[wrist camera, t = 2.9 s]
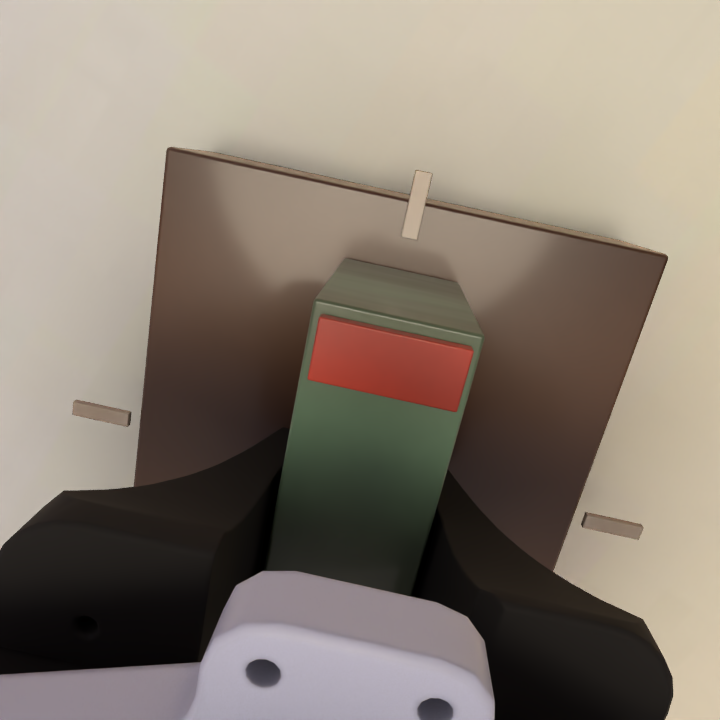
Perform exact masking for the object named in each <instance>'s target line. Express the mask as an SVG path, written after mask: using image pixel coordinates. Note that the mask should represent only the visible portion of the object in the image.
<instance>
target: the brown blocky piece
mask: <svg viewBox="0 0 720 720" xmlns="http://www.w3.org/2000/svg"><path fill="white" fill-rule="evenodd" d="M431 179H432V173H429V172H424V171H419V170H416V171H415V175H414V179H413V184H412V188H411V193H410V195H409V194H404V193H400V192H395V191H390V190H386V189H381V188H376V187H372V186H367V185H363V184H358V183H353V182H349V181H344V180H340V179H335V178H330V177H326V176H321V175H317V174H312V173H307V172H303V171H298V170H294V169H289V168H284V167H280V166H275V165H270V164H266V163H261V162H257V161H252V160H247V159H243V158H238V157H234V156H229V155H224V154H220V153H215V152H209V151H201V150H192V149H184V148H176V147H169V148H168V149H167V152H166V162H165V172H164V182H163V193H162V203H161V213H160V224H159V234H158V244H157V254H156V265H155V275H154V285H153V296H152V306H151V316H150V326H149V337H148V347H147V357H146V367H145V378H144V388H143V398H142V409H141V419H140V429H139V439H138V450H137V460H136V470H135V480H134V487H137V486H143V485H150V484H155V483H159V482H163V481H167V480H172V479H176V478H180V477H184V476H187V475H191V474H193V473H196V472H199V471H202V470H205V469H208V468H210V467H213V466H215V465H217V464H220V463H222V462H224V461H226V460H228V459H230V458H232V457H234V456H236V455H238V454H240V453H242V452H243V451H245V450H247V449H249V448H250V447H252V446H254V445H255V444H257V443H258V442H260V441H262V440H263V439H265V438H266V437H268V436H269V435H271V434H272V433H274V432H276V431H277V430H279V429H281V428H282V427H285V428H289V429H290V425H291V420H292V414H293V409H294V404H295V398H296V393H297V387H298V382H299V377H300V371H301V366H302V360H303V355H304V350H305V344H306V339H307V333H308V328H309V323H310V317H311V312H312V306H313V301H314V300H315V298H316V297H317V295H318V294H319V293H320V291H321V290H322V288H323V287H324V286H325V284H326V283H327V282H328V280H329V279H330V278H331V276H332V275H333V273H334V272H335V271H336V269H337V268H338V267H339V265H340V264H341V262H342V261H343V260H344V259H345V258H348V259H352V260H357V261H361V262H366V263H370V264H375V265H380V266H384V267H389V268H393V269H398V270H402V271H407V272H412V273H416V274H421V275H425V276H430V277H435V278H439V279H444V280H448V281H453V282H457V283H459V285H460V287H461V289H462V291H463V293H464V295H465V297H466V299H467V301H468V303H469V306H470V308H471V310H472V312H473V314H474V316H475V318H476V320H477V322H478V324H479V326H480V328H481V330H482V332H483V334H484V338H485V339H484V342H483V346H482V349H481V353H480V357H479V360H478V364H477V367H476V371H475V374H474V378H473V381H472V385H471V388H470V392H469V395H468V399H467V402H466V406H465V409H464V413H463V417H462V420H461V424H460V427H459V431H458V434H457V438H456V441H455V445H454V448H453V452H452V455H451V459H450V462H449V466H448V470H449V471H450V472H451V474H452V475H453V476H454V478H455V479H456V480H457V482H458V483H459V484H460V486H461V487H462V488H463V489H464V491H465V492H466V493H467V494H468V496H469V497H470V498H471V499H472V500H473V502H474V503H475V504H476V505H477V506H478V507H479V509H480V510H481V511H482V512H483V513H484V514H485V515H486V516H487V517H488V518H489V519H490V520H491V521H492V522H493V523H494V525H495V526H496V527H497V528H498V529H499V530H500V531H502V532H503V533H504V534H505V535H506V536H507V537H508V538H509V539H510V540H512V541H513V542H514V543H515V544H516V545H517V546H519V547H520V548H521V549H522V550H523V551H525V552H526V553H527V554H528V555H530V556H531V557H532V558H534V559H535V560H536V561H538V562H539V563H541V564H542V565H544V566H545V567H546V568H548V569H549V570H551V571H552V572H553V570H554V567H555V565H556V562H557V559H558V556H559V554H560V551H561V548H562V546H563V543H564V540H565V537H566V535H567V532H568V529H569V527H570V524H571V521H572V518H573V516H574V513H575V510H576V508H577V505H578V502H579V499H580V497H581V494H582V491H583V489H584V486H585V483H586V480H587V478H588V475H589V472H590V470H591V467H592V464H593V461H594V459H595V456H596V453H597V450H598V448H599V445H600V442H601V440H602V437H603V434H604V431H605V429H606V426H607V423H608V421H609V418H610V415H611V412H612V410H613V407H614V404H615V402H616V399H617V396H618V393H619V391H620V388H621V385H622V383H623V380H624V377H625V374H626V372H627V369H628V366H629V364H630V361H631V358H632V355H633V353H634V350H635V347H636V345H637V342H638V339H639V336H640V334H641V331H642V328H643V325H644V323H645V320H646V317H647V315H648V312H649V309H650V306H651V304H652V301H653V298H654V296H655V293H656V290H657V287H658V285H659V282H660V279H661V277H662V274H663V271H664V268H665V266H666V263H667V260H668V256H667V255H665V254H663V253H660V252H656V251H653V250H650V249H647V248H643V247H640V246H637V245H633V244H630V243H627V242H624V241H620V240H616V239H612V238H607V237H602V236H598V235H593V234H588V233H584V232H579V231H575V230H570V229H565V228H561V227H556V226H552V225H547V224H542V223H538V222H533V221H529V220H524V219H519V218H515V217H510V216H506V215H501V214H496V213H492V212H487V211H482V210H478V209H473V208H469V207H464V206H459V205H455V204H450V203H446V202H441V201H436V200H432V199H427V196H428V191H429V187H430V183H431ZM73 415H76V416H81V417H85V418H90V419H94V420H99V421H103V422H108V423H112V424H117V425H121V426H126V427H128V426H129V425H130V421H131V412H130V411H126V410H121V409H117V408H112V407H108V406H103V405H99V404H94V403H90V402H85V401H81V400H75V401H74V402H73ZM581 525H582V527H583V528H587V529H592V530H596V531H601V532H605V533H610V534H614V535H619V536H624V537H628V538H633V539H637V540H639V538H640V535H641V533H642V530H643V526H642V525H641V524H637V523H633V522H628V521H624V520H619V519H615V518H610V517H606V516H601V515H597V514H592V513H588V512H585V515H584V518H583V520H582V523H581Z"/></svg>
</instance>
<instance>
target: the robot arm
mask: <svg viewBox="0 0 720 720" xmlns="http://www.w3.org/2000/svg"><path fill="white" fill-rule="evenodd" d="M289 431H290V429H289V428H285V427H282V428H281V429H279V430H277V431H276V432H274V433H272V434H271V435H269V436H268V437H266V438H265V439H263V440H262V441H260V442H258V443H257V444H255V445H254V446H252V447H250V448H249V449H247V450H245V451H243V452H242V453H240V454H238V455H236V456H234V457H232V458H230V459H228V460H226V461H224V462H222V463H220V464H217V465H215V466H213V467H210V468H208V469H205V470H202V471H199V472H196V473H193V474H191V475H187V476H184V477H180V478H176V479H172V480H167V481H163V482H159V483H155V484H150V485H143V486H137V487H129V488H120V489H109V490H80V491H63V492H62V493H60V494H59V495H58V496H57V497H55V498H54V499H53V500H52V501H50V502H49V503H48V504H47V505H45V506H44V507H43V508H42V509H41V510H40V511H39V512H38V513H37V514H36V515H35V516H33V517H32V518H31V519H30V520H29V521H28V522H27V523H26V524H25V525H24V526H23V527H22V528H21V529H20V530H18V531H17V532H16V533H15V534H14V535H13V536H12V537H11V538H10V539H9V540H8V541H7V542H6V543H5V544H4V545H3V546H2V548H1V550H0V720H665V718H666V716H667V714H668V711H669V708H670V705H671V701H672V698H673V681H672V675H671V673H670V671H669V668H668V666H667V663H666V661H665V659H664V657H663V655H662V653H661V651H660V649H659V648H658V646H657V644H656V642H655V640H654V638H653V636H652V635H651V633H650V631H649V629H648V627H647V626H646V624H645V622H644V621H643V619H641V618H639V617H637V616H635V615H632V614H630V613H628V612H626V611H624V610H622V609H619V608H617V607H615V606H613V605H611V604H609V603H606V602H604V601H602V600H600V599H598V598H596V597H594V596H592V595H591V594H589V593H587V592H585V591H584V590H582V589H580V588H578V587H576V586H575V585H573V584H571V583H569V582H568V581H566V580H565V579H563V578H561V577H560V576H558V575H557V574H555V573H554V572H552V571H551V570H549V569H548V568H546V567H545V566H544V565H542V564H541V563H539V562H538V561H536V560H535V559H534V558H532V557H531V556H530V555H528V554H527V553H526V552H525V551H523V550H522V549H521V548H520V547H519V546H517V545H516V544H515V543H514V542H513V541H512V540H510V539H509V538H508V537H507V536H506V535H505V534H504V533H503V532H502V531H500V530H499V529H498V528H497V527H496V526H495V525H494V523H493V522H492V521H491V520H490V519H489V518H488V517H487V516H486V515H485V514H484V513H483V512H482V511H481V510H480V509H479V507H478V506H477V505H476V504H475V503H474V502H473V500H472V499H471V498H470V497H469V496H468V494H467V493H466V492H465V491H464V489H463V488H462V487H461V486H460V484H459V483H458V482H457V480H456V479H455V478H454V476H453V475H452V474H451V472H450V471H449V470H448V469H447V473H446V477H445V480H444V484H443V487H442V491H441V494H440V498H439V501H438V505H437V508H436V512H435V515H434V519H433V522H432V526H431V529H430V533H429V537H428V540H427V544H426V547H425V551H424V554H423V558H422V561H421V565H420V568H419V572H418V575H417V579H416V582H415V586H414V589H413V593H412V597H411V596H406V595H402V594H397V593H393V592H388V591H384V590H379V589H375V588H370V587H366V586H361V585H357V584H352V583H348V582H343V581H339V580H334V579H330V578H325V577H321V576H316V575H312V574H307V573H303V572H298V571H264V566H265V560H266V555H267V549H268V544H269V539H270V533H271V528H272V522H273V517H274V512H275V506H276V501H277V495H278V490H279V485H280V479H281V474H282V468H283V463H284V458H285V452H286V447H287V441H288V436H289Z"/></svg>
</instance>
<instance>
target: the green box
mask: <svg viewBox="0 0 720 720" xmlns="http://www.w3.org/2000/svg"><path fill="white" fill-rule="evenodd" d="M484 339H485V338H484V334H483V332H482V330H481V328H480V326H479V324H478V322H477V320H476V318H475V316H474V314H473V312H472V310H471V308H470V306H469V303H468V301H467V299H466V297H465V295H464V293H463V291H462V289H461V287H460V285H459V283H457V282H453V281H448V280H444V279H439V278H435V277H430V276H425V275H421V274H416V273H412V272H407V271H402V270H398V269H393V268H389V267H384V266H380V265H375V264H370V263H366V262H361V261H357V260H352V259H348V258H345V259H344V260H343V261H342V262H341V264H340V265H339V267H338V268H337V269H336V271H335V272H334V273H333V275H332V276H331V278H330V279H329V280H328V282H327V283H326V284H325V286H324V287H323V288H322V290H321V291H320V293H319V294H318V295H317V297H316V298H315V300H314V301H313V306H312V312H311V317H310V323H309V328H308V333H307V339H306V344H305V350H304V355H303V360H302V366H301V371H300V377H299V382H298V387H297V393H296V398H295V404H294V409H293V414H292V420H291V425H290V431H289V436H288V441H287V447H286V452H285V458H284V463H283V468H282V474H281V479H280V485H279V490H278V495H277V501H276V506H275V512H274V517H273V522H272V528H271V533H270V539H269V544H268V549H267V555H266V560H265V566H264V571H298V572H303V573H307V574H312V575H316V576H321V577H325V578H330V579H334V580H339V581H343V582H348V583H352V584H357V585H361V586H366V587H370V588H375V589H379V590H384V591H388V592H393V593H397V594H402V595H406V596H411V597H412V593H413V589H414V586H415V582H416V579H417V575H418V572H419V568H420V565H421V561H422V558H423V554H424V551H425V547H426V544H427V540H428V537H429V533H430V529H431V526H432V522H433V519H434V515H435V512H436V508H437V505H438V501H439V498H440V494H441V491H442V487H443V484H444V480H445V477H446V473H447V469H448V466H449V462H450V459H451V455H452V452H453V448H454V445H455V441H456V438H457V434H458V431H459V427H460V424H461V420H462V417H463V413H464V409H465V406H466V402H467V399H468V395H469V392H470V388H471V385H472V381H473V378H474V374H475V371H476V367H477V364H478V360H479V357H480V353H481V349H482V346H483V342H484Z"/></svg>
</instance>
